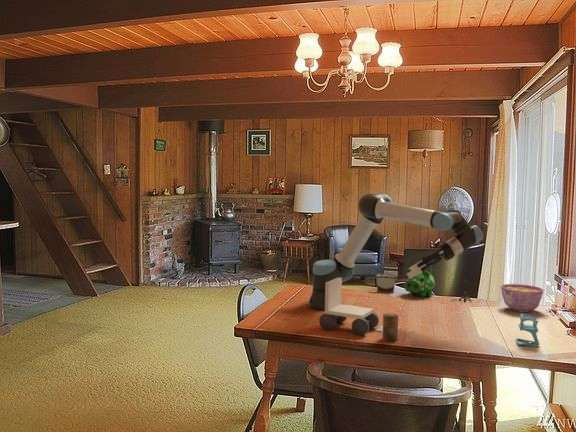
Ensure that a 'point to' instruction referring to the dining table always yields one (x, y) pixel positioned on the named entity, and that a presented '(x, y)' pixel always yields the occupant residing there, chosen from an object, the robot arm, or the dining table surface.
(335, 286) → the trolley
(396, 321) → the cylindrical block
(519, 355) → the dining table surface
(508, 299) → the bowl of food
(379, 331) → the pad
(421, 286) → the piggy bank
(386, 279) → the food container
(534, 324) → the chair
